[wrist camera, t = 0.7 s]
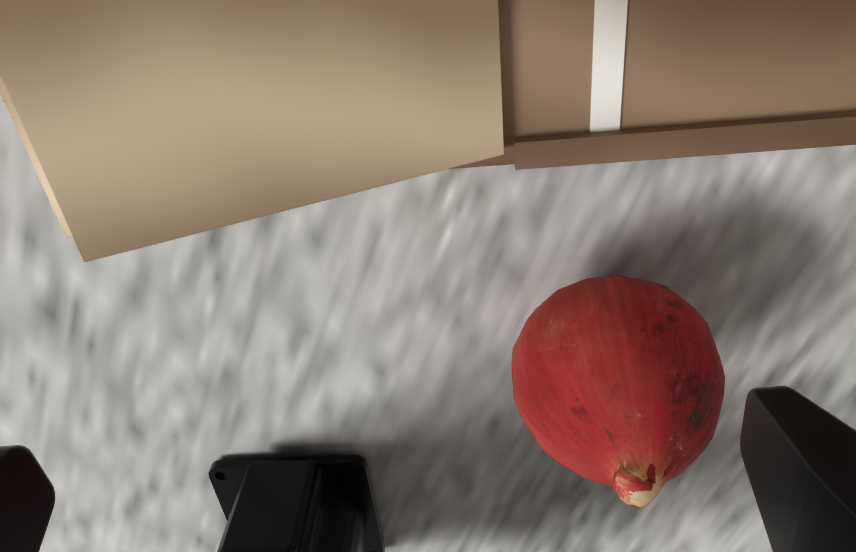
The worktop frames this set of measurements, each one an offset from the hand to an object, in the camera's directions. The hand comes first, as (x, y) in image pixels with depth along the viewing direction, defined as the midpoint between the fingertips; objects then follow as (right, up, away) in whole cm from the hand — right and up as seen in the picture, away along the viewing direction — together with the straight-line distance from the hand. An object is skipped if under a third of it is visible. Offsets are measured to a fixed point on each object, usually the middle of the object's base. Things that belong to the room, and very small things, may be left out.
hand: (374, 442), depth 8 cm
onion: (+6, +1, +14) cm, 16 cm away
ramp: (-3, +10, +9) cm, 14 cm away
